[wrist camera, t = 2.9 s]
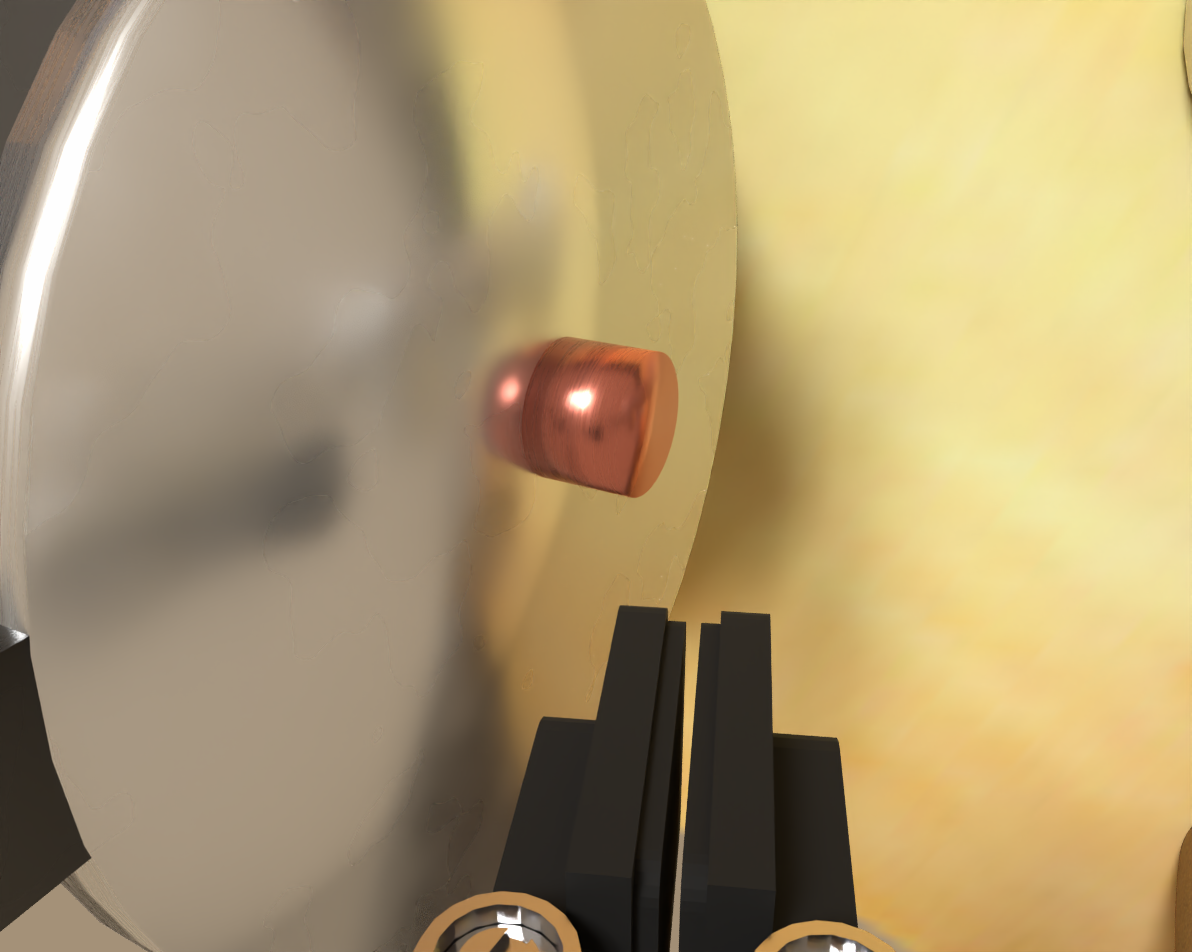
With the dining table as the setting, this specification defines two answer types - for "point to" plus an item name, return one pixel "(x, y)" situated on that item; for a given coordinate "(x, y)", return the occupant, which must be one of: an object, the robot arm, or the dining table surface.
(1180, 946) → the plant pot
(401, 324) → the cooker lid
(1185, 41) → the robot arm
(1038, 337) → the dining table surface
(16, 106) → the cooker pot
